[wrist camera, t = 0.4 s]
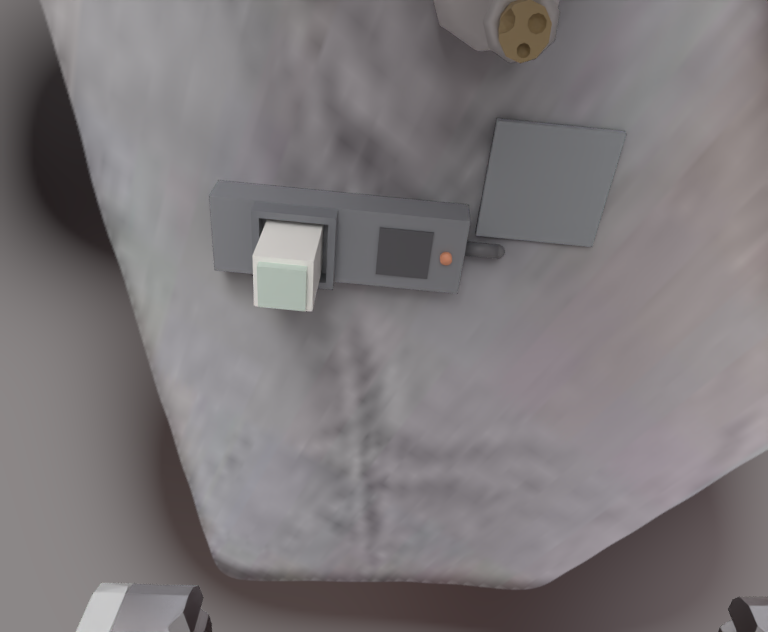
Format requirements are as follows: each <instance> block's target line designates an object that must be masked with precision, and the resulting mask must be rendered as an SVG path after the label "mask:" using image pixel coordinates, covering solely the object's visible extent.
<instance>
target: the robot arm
mask: <svg viewBox="0 0 768 632" xmlns="http://www.w3.org/2000/svg"><path fill="white" fill-rule="evenodd" d="M202 602H203V595H202V592H201V590H200V587H199V585H158V584H136V583H101V584H100V585H99V587H98V588H97V589H96V590H95V592H94V593H93V594H92V596H91V598H90V601H89V603H88V605H87V608H86V610H85V612H84V614H83V616H82V619H81V621H80V623H79V625H78V628H77V630H76V632H212V623H211V620H210V616H209V614H208V613H207V612H205V611H203V610H202V609H201V605H202ZM728 611H729V614H730V616H731V619H732V620H730V621H728V622H727V623H725V624H723V625H721V626H720V628H719V631H718V632H768V597H737V598H735V599H733V600H732V602H731V604H730V606H729V608H728Z"/></svg>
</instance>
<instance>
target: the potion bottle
mask: <svg viewBox="0 0 768 632" xmlns="http://www.w3.org/2000/svg"><path fill="white" fill-rule="evenodd" d="M433 1H434V5H435V9H436V13H437V17H438V21H439V25H441V26H442V27H443V28H445V29H446V30H448V31H449V32H450V33H452V34H453V35H455V36H456V37H457V38H459V39H460V40H462V41H463V42H465V43H466V44H467V45H469V46H470V47H472V48H473V49H474V50H476V51H487V50H492V51H493V52H495V53H496V54H498V55H499V56H500V57H502V58H503V59H505V60H506V61H507V62H509V63H510V62H519V63H523V62H526V61H529V60H535V59H536V58H537V57H538V56H539V55H540V54H541V53H542V52H543V51H544V50H545V49H546V48H547V47H548V46H549V45H550V44H551V43H552V42H553V41H554V40H555V37H556V32H557V27H558V21H559V16H560V11H559V9H558V6H559V0H433Z"/></svg>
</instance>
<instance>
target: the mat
mask: <svg viewBox="0 0 768 632" xmlns="http://www.w3.org/2000/svg"><path fill="white" fill-rule="evenodd" d="M625 138H626V132H625V131H619V130H609V129H599V128H589V127H579V126H569V125H559V124H549V123H539V122H529V121H519V120H509V119H499V118H497V119H496V124H495V130H494V135H493V140H492V146H491V151H490V156H489V162H488V167H487V173H486V178H485V183H484V189H483V194H482V199H481V205H480V210H479V216H478V221H477V226H476V232H475V233H476V236H484V237H495V238H505V239H515V240H525V241H536V242H546V243H556V244H566V245H576V246H587V247H592V246H593V243H594V239H595V236H596V233H597V229H598V226H599V223H600V220H601V216H602V213H603V210H604V206H605V203H606V200H607V197H608V193H609V190H610V187H611V183H612V180H613V177H614V174H615V170H616V167H617V164H618V161H619V157H620V154H621V151H622V147H623V144H624V141H625Z"/></svg>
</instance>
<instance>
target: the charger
mask: <svg viewBox="0 0 768 632" xmlns="http://www.w3.org/2000/svg"><path fill="white" fill-rule="evenodd" d="M323 235H324V224H315V223H304V222H294V221H284V220H274V219H267V221H266V223H265V226H264V228H263V231H262V233H261V236H260V238H259V241H258V243H257V246H256V248H255V250H254V253H253V255H252V258H253V288H254V306H258V307H265V308H275V309H286V310H296V311H313V306H314V302H315V298H316V293H317V289H318V285H319V280H320V276H321V272H322V262H323Z"/></svg>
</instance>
